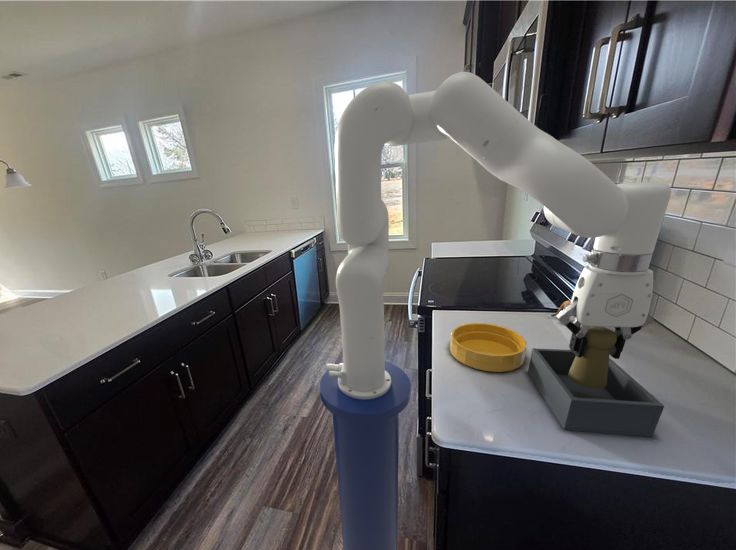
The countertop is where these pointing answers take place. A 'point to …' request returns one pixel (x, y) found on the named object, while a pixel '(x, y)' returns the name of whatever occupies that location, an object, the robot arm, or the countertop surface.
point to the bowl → (488, 347)
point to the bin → (593, 397)
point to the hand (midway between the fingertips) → (593, 353)
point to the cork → (593, 359)
